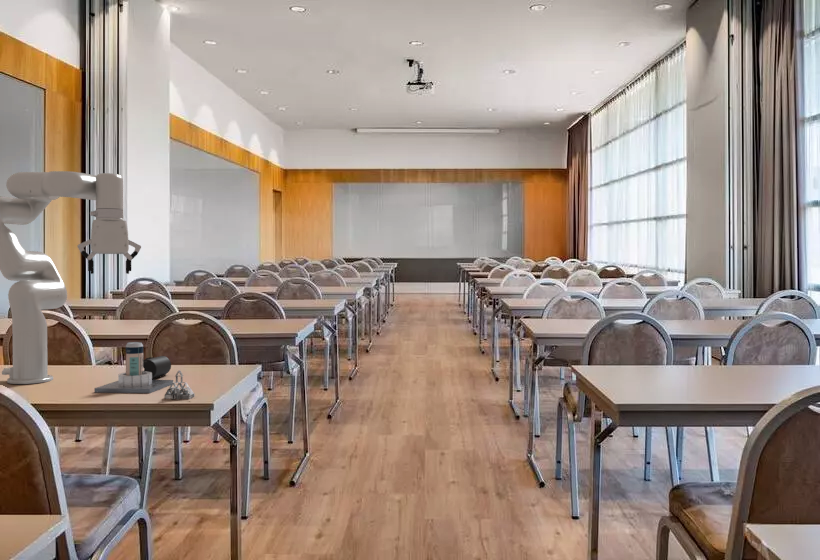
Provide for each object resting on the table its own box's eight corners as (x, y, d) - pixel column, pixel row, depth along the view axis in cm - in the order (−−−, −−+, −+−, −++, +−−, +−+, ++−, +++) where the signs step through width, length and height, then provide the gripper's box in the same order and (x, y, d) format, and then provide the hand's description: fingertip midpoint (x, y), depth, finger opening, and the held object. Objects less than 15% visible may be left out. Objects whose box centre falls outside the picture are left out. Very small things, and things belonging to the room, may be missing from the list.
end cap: (156, 381, 217) (156, 359, 217) (134, 381, 218) (134, 359, 218) (171, 376, 227) (171, 355, 227) (150, 376, 228) (150, 355, 228)
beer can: (138, 382, 207) (138, 341, 207) (146, 383, 204) (146, 342, 204) (122, 384, 204) (122, 342, 204) (130, 385, 201) (130, 344, 200)
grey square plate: (94, 392, 197) (94, 377, 197) (122, 383, 213) (122, 369, 213) (149, 393, 196) (149, 378, 195) (173, 383, 212) (173, 370, 211)
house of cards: (149, 403, 183) (149, 373, 183) (163, 397, 191) (163, 369, 191) (182, 403, 182) (182, 374, 182) (195, 397, 191) (195, 369, 191)
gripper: (77, 213, 200) (77, 273, 200) (141, 215, 207) (142, 273, 208) (77, 215, 207) (77, 273, 207) (139, 217, 214) (140, 273, 214)
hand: (109, 273), depth 207 cm, fingers open, 9 cm apart
